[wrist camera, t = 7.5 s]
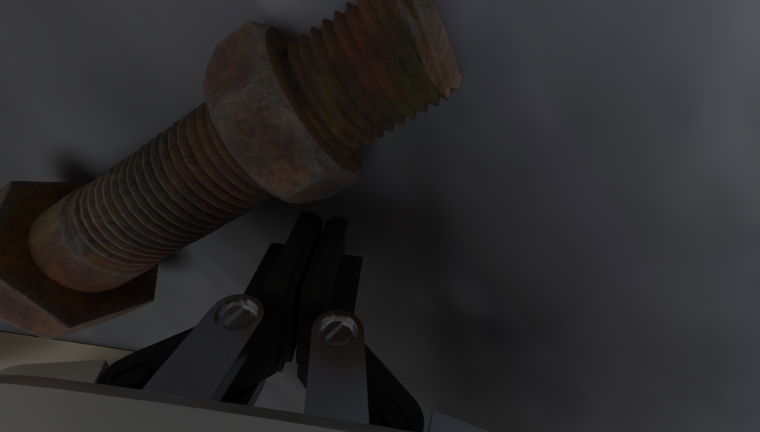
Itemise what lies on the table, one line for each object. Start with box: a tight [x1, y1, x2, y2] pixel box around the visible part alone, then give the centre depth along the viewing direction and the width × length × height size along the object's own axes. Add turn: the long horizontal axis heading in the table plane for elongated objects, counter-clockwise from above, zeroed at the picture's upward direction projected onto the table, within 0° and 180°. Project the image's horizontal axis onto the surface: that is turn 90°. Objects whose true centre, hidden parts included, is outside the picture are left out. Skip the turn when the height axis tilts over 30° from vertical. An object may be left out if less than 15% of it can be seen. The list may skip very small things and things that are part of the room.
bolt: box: [0, 0, 463, 340], centre depth 11 cm, size 6×5×15 cm
